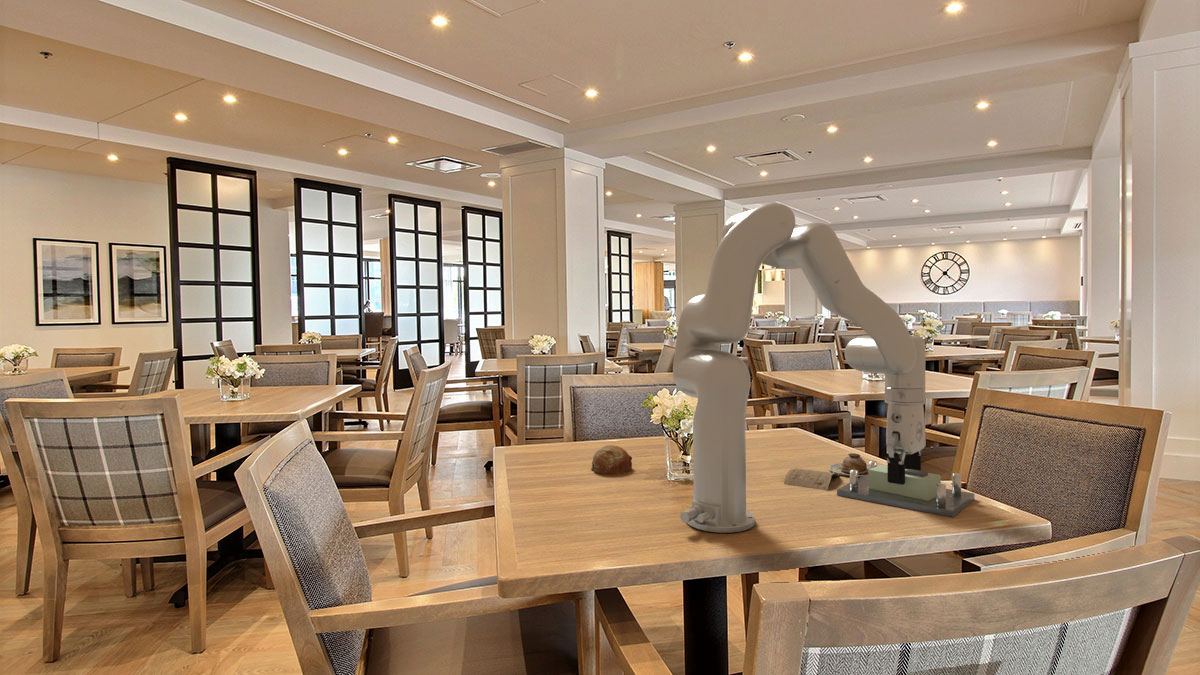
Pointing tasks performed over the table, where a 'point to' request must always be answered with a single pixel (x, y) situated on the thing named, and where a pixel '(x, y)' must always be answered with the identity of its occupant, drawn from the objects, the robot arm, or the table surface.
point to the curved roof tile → (809, 478)
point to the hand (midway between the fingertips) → (904, 478)
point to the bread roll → (611, 460)
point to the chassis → (942, 504)
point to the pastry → (851, 465)
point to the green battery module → (915, 483)
